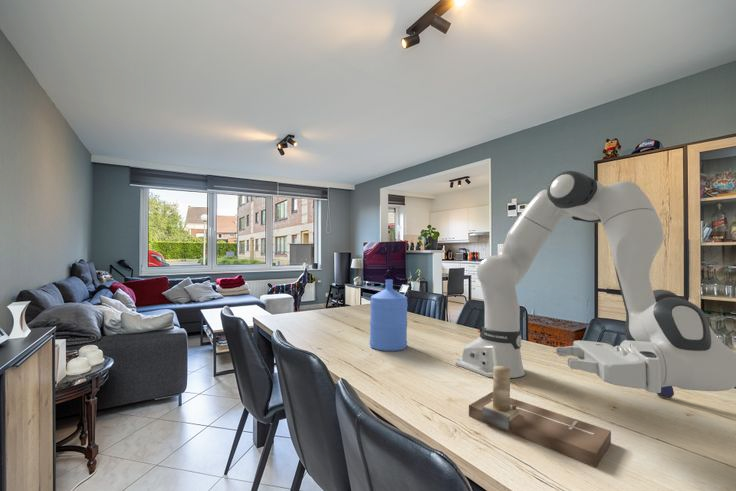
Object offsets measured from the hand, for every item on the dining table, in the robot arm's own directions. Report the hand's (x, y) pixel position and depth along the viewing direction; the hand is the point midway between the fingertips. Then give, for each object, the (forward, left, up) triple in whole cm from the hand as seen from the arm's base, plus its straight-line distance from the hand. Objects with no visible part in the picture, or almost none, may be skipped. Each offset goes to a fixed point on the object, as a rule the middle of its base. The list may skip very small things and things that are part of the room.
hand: (562, 356), depth 73 cm
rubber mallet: (+13, +43, -17) cm, 48 cm away
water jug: (-72, +21, -17) cm, 77 cm away
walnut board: (-5, -2, -17) cm, 18 cm away
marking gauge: (-11, -6, -16) cm, 20 cm away
